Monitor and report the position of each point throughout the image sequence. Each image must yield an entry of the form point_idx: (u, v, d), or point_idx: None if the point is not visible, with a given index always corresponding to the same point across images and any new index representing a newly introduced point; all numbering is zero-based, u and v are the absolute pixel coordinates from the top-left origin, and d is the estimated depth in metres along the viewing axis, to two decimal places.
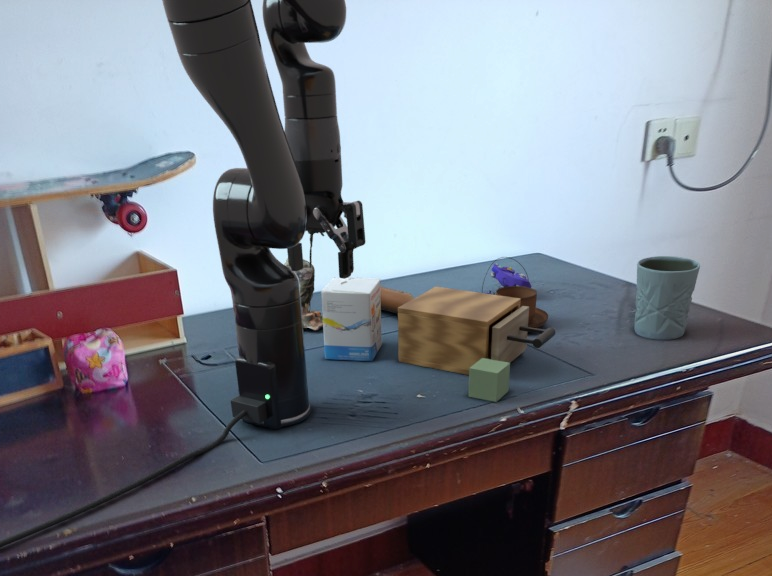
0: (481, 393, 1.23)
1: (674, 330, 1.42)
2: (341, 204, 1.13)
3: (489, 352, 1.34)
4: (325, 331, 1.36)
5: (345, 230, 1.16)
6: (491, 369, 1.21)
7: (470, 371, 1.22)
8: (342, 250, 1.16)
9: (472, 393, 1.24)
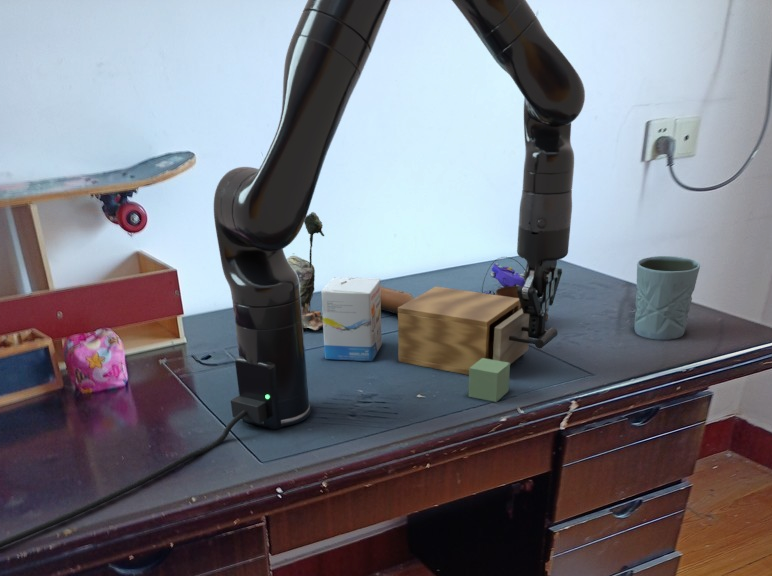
0: (481, 393, 1.23)
1: (674, 330, 1.42)
2: (527, 279, 1.22)
3: (491, 352, 1.34)
4: (325, 331, 1.36)
5: (540, 301, 1.25)
6: (491, 369, 1.21)
7: (470, 371, 1.22)
8: None
9: (472, 393, 1.24)
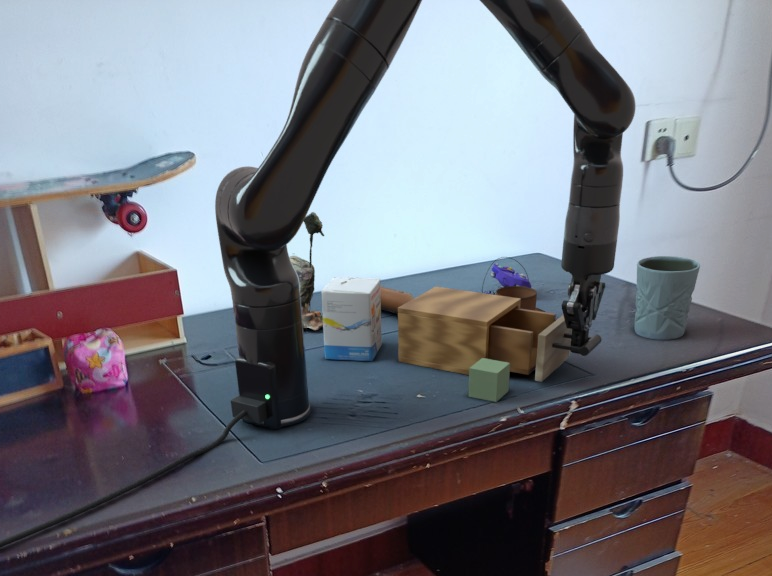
0: (481, 393, 1.23)
1: (674, 330, 1.42)
2: (571, 294, 1.19)
3: (532, 360, 1.31)
4: (325, 331, 1.36)
5: (584, 316, 1.23)
6: (491, 369, 1.21)
7: (470, 371, 1.22)
8: None
9: (472, 393, 1.24)
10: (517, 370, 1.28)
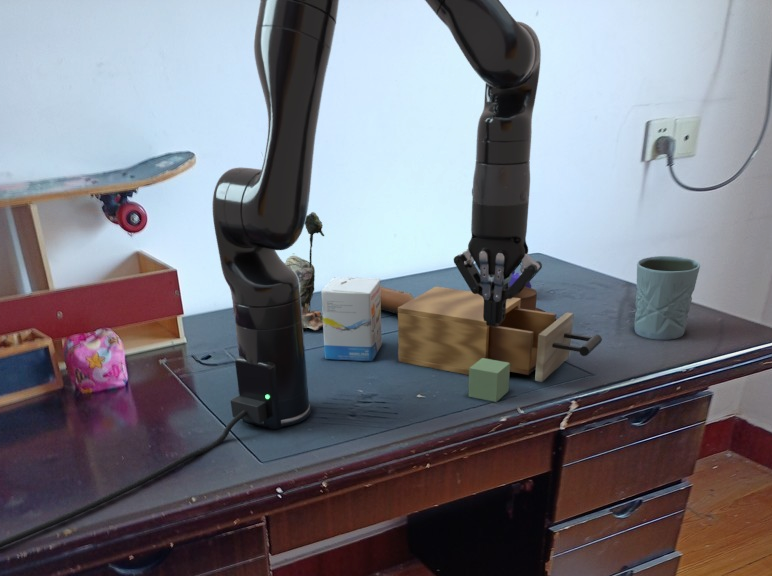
0: (481, 393, 1.23)
1: (674, 330, 1.42)
2: None
3: (532, 360, 1.31)
4: (325, 331, 1.36)
5: None
6: (491, 369, 1.21)
7: (470, 371, 1.22)
8: None
9: (472, 393, 1.24)
10: (517, 370, 1.28)
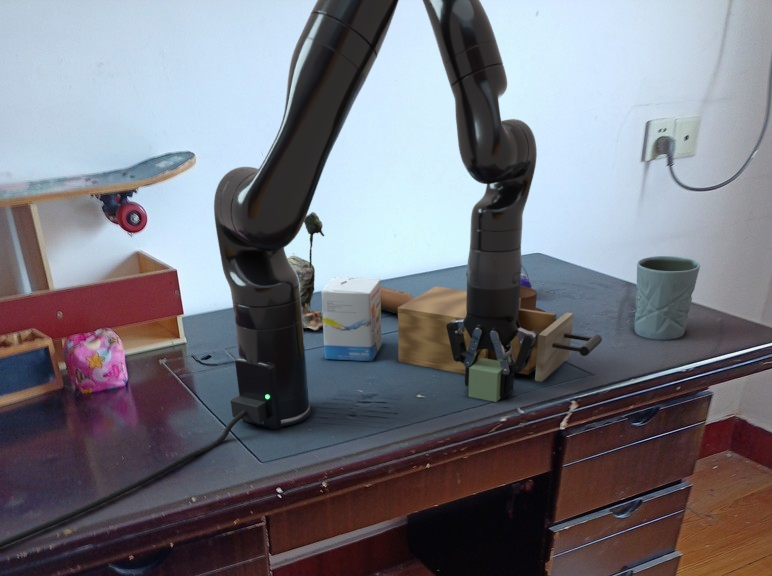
0: (481, 393, 1.23)
1: (674, 330, 1.42)
2: None
3: (532, 360, 1.31)
4: (325, 331, 1.36)
5: None
6: (491, 369, 1.21)
7: (470, 371, 1.22)
8: None
9: (472, 393, 1.24)
10: None
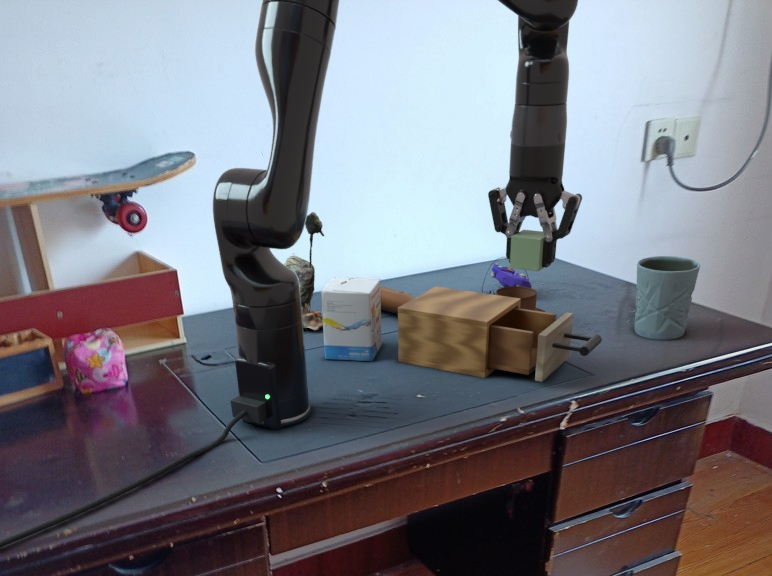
0: (523, 263, 1.22)
1: (674, 330, 1.42)
2: None
3: (532, 360, 1.31)
4: (325, 331, 1.36)
5: None
6: (534, 236, 1.20)
7: (512, 240, 1.21)
8: None
9: (514, 264, 1.23)
10: (517, 370, 1.28)
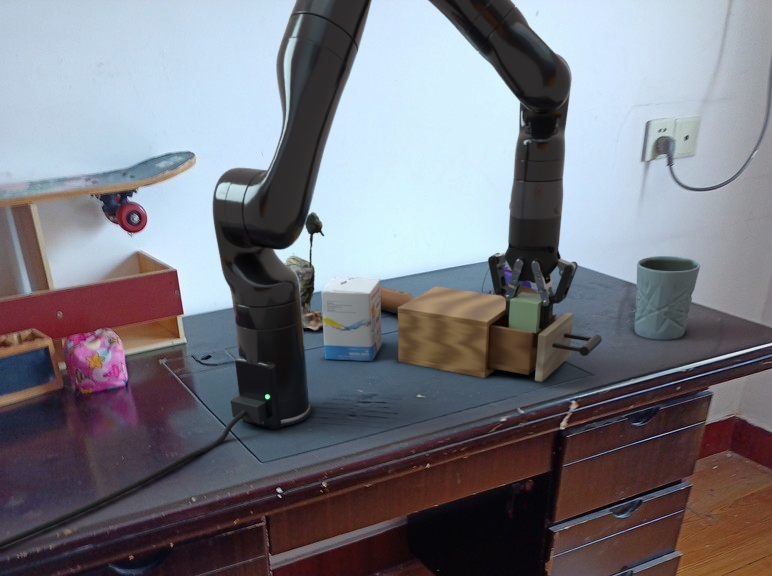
0: (521, 324, 1.28)
1: (674, 330, 1.42)
2: None
3: (532, 360, 1.31)
4: (325, 331, 1.36)
5: None
6: (532, 300, 1.26)
7: (511, 303, 1.27)
8: None
9: (512, 325, 1.28)
10: (517, 370, 1.28)
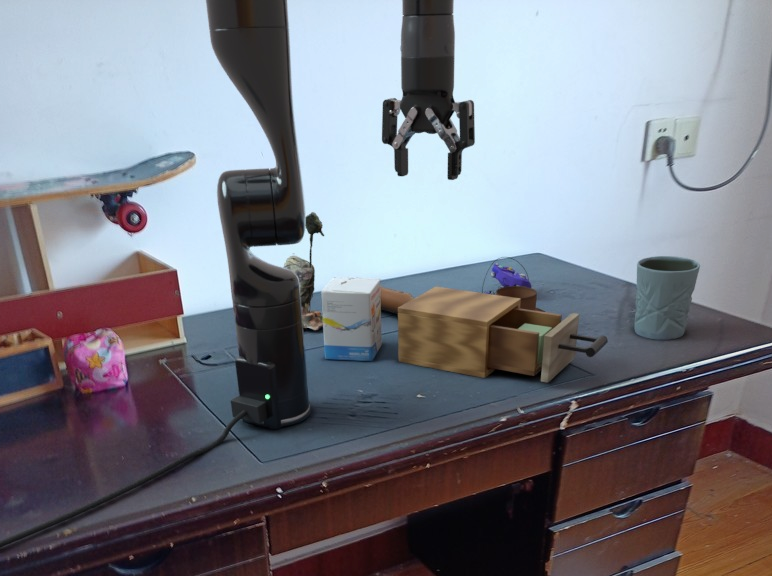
0: None
1: (674, 330, 1.42)
2: None
3: None
4: (325, 331, 1.36)
5: None
6: None
7: None
8: None
9: None
10: (523, 371, 1.28)
